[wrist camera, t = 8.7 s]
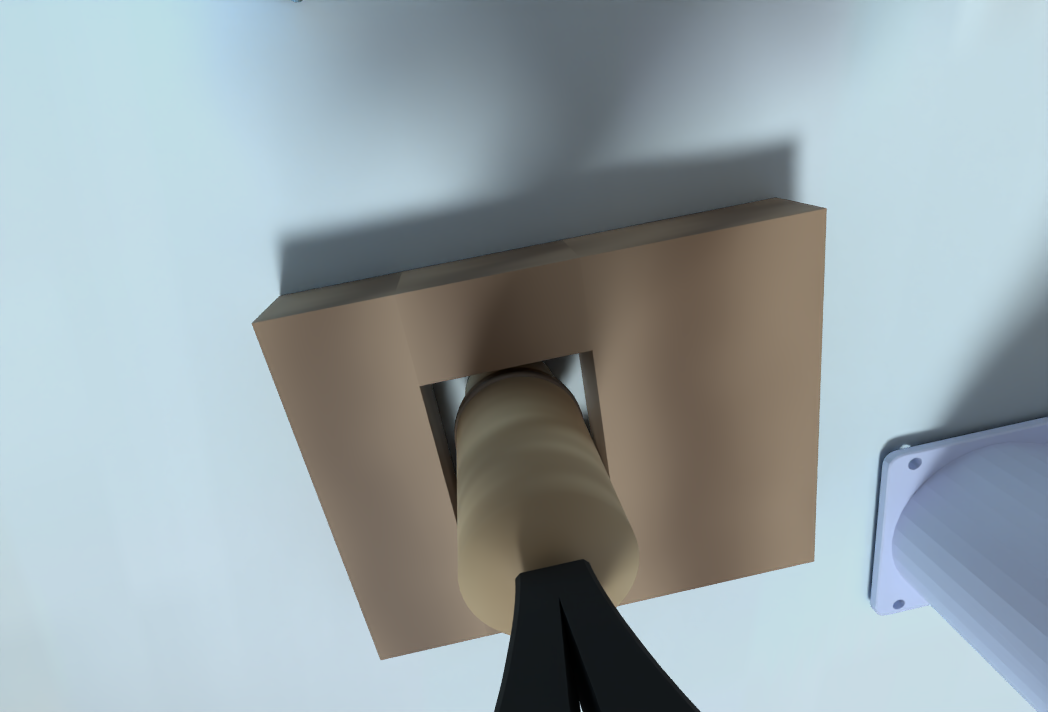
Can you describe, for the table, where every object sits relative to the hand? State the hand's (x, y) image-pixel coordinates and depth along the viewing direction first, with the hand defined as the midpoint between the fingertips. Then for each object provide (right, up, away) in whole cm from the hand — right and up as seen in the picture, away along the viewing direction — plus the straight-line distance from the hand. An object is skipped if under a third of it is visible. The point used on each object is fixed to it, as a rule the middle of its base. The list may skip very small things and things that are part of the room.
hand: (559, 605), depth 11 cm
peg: (-1, +4, +8) cm, 9 cm away
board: (+1, +3, +8) cm, 9 cm away
